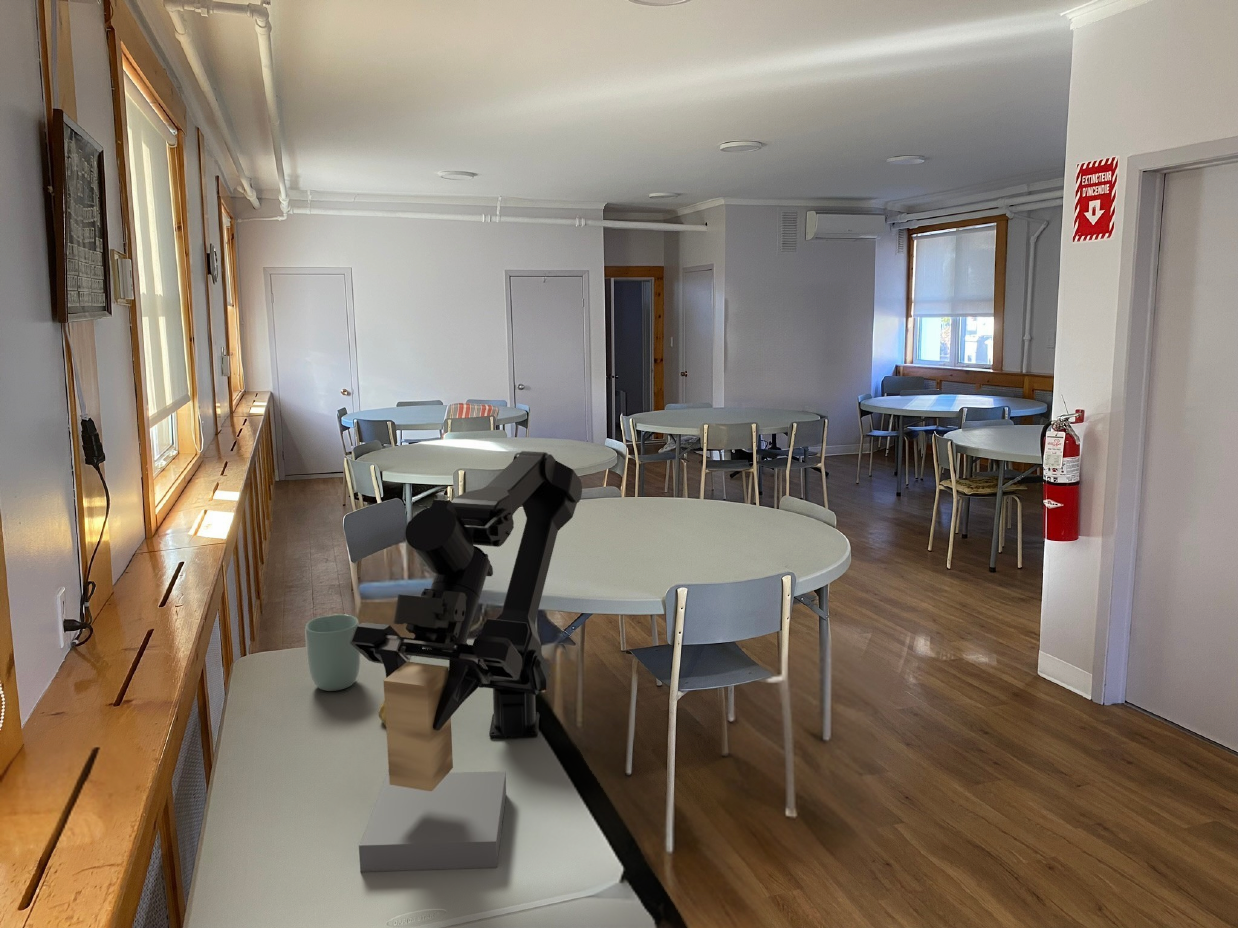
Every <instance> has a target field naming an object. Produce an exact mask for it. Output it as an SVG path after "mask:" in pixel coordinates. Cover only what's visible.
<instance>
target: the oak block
mask: <svg viewBox="0 0 1238 928" xmlns="http://www.w3.org/2000/svg"><path fill="white" fill-rule="evenodd" d="M448 675H449V665H448V666H447V665H440V664H439V665H437V664H431V663H422V662H414V661H410V662H406V663H405V664H403V665H402V666H401V667H400V668H398V669H397V670H396V671H395V672H393V673H392V674H391V675H390V676H388V677H387V678H386V677H385V679H383V694H384V695H383V696H384V700H385V715H386V726H385V729H386V747H387V760H388V763H387V764H388V774H389V782H390V785H395V786H401V787H407V788H413V789H419V790H425V791H431V792H432V791H433V790H434V789H435V787H436V786H437V785H438V784H439V783H440V782H441V781H442V780H443V778H444V777H445V776H446V775H447V774H448V773H451V770H453V768H454V761H453V760H454V757H453V741H452V736H453V735H452V716H451V717H450V718H449V720H448V721H447V722H446V723H445V724H444V725H443V727H442V728H441V729H440V730H439V731H437V730H435V729H434V728H433V723H434V718H435V714H436V711H437V708H438V705H439V702H440V699H441V696H442V694H443V691H444V688H445V685H446V682H447V680H448Z"/></svg>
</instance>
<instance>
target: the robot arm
mask: <svg viewBox="0 0 1238 928" xmlns="http://www.w3.org/2000/svg"><path fill="white" fill-rule="evenodd" d="M582 494H583V483H582V481H581V478H580V477H579V476H578V475H577V473H576V472H575V469H573V468H571V467H569V466H567V465H565V464H563V463H562V462H559V461H558V460H556V459H555V457H554V456H553V455H552V454H550V453H548V452H545V451H529V450H528V451H526V450H522V451H520V452H516V453H515V454H514V456H513V459H512V461H511V462H510V463H509V464H508V465H507V466H506V467H504V469H503V470H502V471H501V472H500V473H498V474H497V475H496V476H495V477H494V478H493V479H492V480H491V481H490V482H489V483H488V484H487V485H486V486H485V487H483V488H480V489H478V488H477V489H474V490H469V491H466V492H465V491H464V492H463V493H461V494H459V495H458V496H455V497H454V498H452V500H450V499H445V498H444V499H443V498H442V499H440V498H434V499H433V500H432V503H431V505H430V506H429V507H427V508H424V509H422V510H420V511H418V512H417V513H415V515H414V516H413V517H412V518H411V519H410V520H408V522H407V525H406V527H405V532H404V533H405V540H406V543H407V544H408V545H409V547H411V549H412V550H413V551H414V552H415V554H416V555H417V556H418V559H420V560H421V562H423V564H424V566H425V567H426V568H427V569H428V570H429V571H430V572H432V573H433V574H434V578H433V581H432V583H431V587H430V588H424V589H423V590H422V592H421V594H420V595H413V594H412V595H411V594H402V593H398V594H397V599H396V600H397V601H396V606H395V612H394V619H393V624H394V625H404V624H406V626H405V627H404V628H405V630H406V631H407V632H408V633H409V634H413V635H414V637H406V636H401V634H399V633H398V632H397V631H396V630H395V629H394V628H393V626H391V625H390V624H382V623H372V622H366V621H365V622H362V623H359V626H357V627H356V629H355V630H354V632H353V635H352V638H351V640H350V644H351V645H352V646H353V647H354V648H355V649H357V650H358V651H359V652H360V655H362V656H363V657H364V658H365V659H366V660H367V661H369V662H371V663H373V664H374V663H375V664H381V665H382V664H383V666H384V672H385V679H386V678H387V677H388V676H390V675H391V674H392V673H393V672H395V671H396V670H397V669H398V668H400V667H401V666H402V665H403V664H405V663H406V662H411V659H412V657H420V658H426V659H427V658H428V659H436V660H443V661H449V662H448V667H449V675H448V680H447V682H446V685H445V688H444V691H443V694H442V696H441V699H440V702H439V705H438V708H437V711H436V714H435V718H434V723H433V728H434V729H435V730H437V731H439V730H440V729H441V728H442V727H443V725H444V724H445V723H446V722H447V721H448V720H449V718H450V717H451V718H452V716H453V715H454V714H455V712H456V711H457V710H458V709H459V708H460V706H461V705H462V704H463V703H464V702H466V700H467V699H468V698H469V697H470V696H471V695H472V694H473V693H474V692H475V691H476V690H477V689H478V688H481V689H483V688H485V689H492V701H493V705H492V706H493V709H492V710H493V713H492V716H491V721H490V727H489V735H488V737H489V738H492V739H495V738H499V739H500V738H530V737H531V738H535V737H538V735H539V722H540V712H538V711H536V696H537V695H538V694H539V693H540V692H542V691H547V690H548V689H549V679H550V676H551V675H550V665H549V663H548V662H547V660H546V659H545V658H544V655H542V653H541V650H542V643H541V640H540V637H539V634H538V630H537V627H536V620H537V616H538V612H539V608H540V605H541V600H542V597H543V593H544V588H545V585H546V580H547V577H548V571H549V568H550V564H551V560H552V557H553V553H554V548H555V543H556V541H557V536H558V532H559V531H560V530H561V529H562V528H563V527H564V526H565V525H566V524H567V523H569V521H570V520H572V518H573V517H574V515H575V512H576V511H575V510H576V507H577V505H578V503H579V502H581V498H582ZM521 506H522V509H523V513H524V514H525V517H526V519H525V524H524V528H523V532H522V535H521V539H520V543H519V547H518V550H517V554H516V558H515V561H514V564H513V568H512V573H511V576H510V580H509V583H508V587H507V590H506V594H505V598H504V602H503V606H502V609H501V612H500V613H499V614H498V615H497V616H496V617H495V618H487V619H486V620H485V621H484V623H483V625H482V631H481V634H479V635H478V636H477V637H476V638H474V639H473V643H472V644H468V643H467V641H468V638H469V634H470V632H471V629H472V625H473V622H475V623H477V622H478V621H479V618H480V614H481V613H480V612H479V611H478V610H477V608H478V605H479V602H480V597H481V595H482V591H483V588H484V585H485V581H486V579H487V577H492V576H493V575H494V570H493V569H494V568H493V565H492V564H491V561H490V559H489V554H488V553H486V552H484V551H483V549H481V548H480V547H478V546H484V547H495V548H500V547H501V546H503V545H504V543H506V541H507V540H508V538H509V537H510V536H511V534H512V531H513V530H514V528H515V527H514V526H515V525H514V524H515V522H514V518H513V516H514V514H515V513H516V512H517V511H518V510H519V509H520V507H521Z"/></svg>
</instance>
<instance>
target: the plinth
mask: <svg viewBox="0 0 1238 928" xmlns="http://www.w3.org/2000/svg"><path fill="white" fill-rule="evenodd" d="M506 775H507V773H506V770H503V771H502V770H499V771H498V770H497V771H494V770H493V771H465V772H464V771H463V772H462V771H461V772H460V771H459V772H449V773H448V774H447V775H446V776H445V777H444V778H443V780H442V781H441V782H440V783H439V784H438V785H437V786H436V787H435V789H434V790H433V791H432V792H431V791H425V790H419V789H413V788H407V787H401V786H395V785H390V782H389V773H388V774H385V776H384V779H383V781H382V784H381V787H380V789H379V792H378V794H377V797H376V799H375V803H374V805H373V807H372V809H371V813H370V816H369V818H368V821H367V823H366V826H365V829H364V830H363V833H362V836H361V839H360V841H359V844H358V852H359V854H358V855H359V869H360V870H359V871H360V873H362V872H363V873H364V872H366V873H367V872H370V873H371V872H394V871H397V872H398V871H424V870H425V871H426V870H427V871H429V870H457V869H459V870H461V869H489V868H490V869H491V868H498V861H499V852H500V845H501V839H502V838H501V836H502V831H501V830H503V823H502V821H503V822H504V815H503V814H505V808H504V806H506V800H505V798H506V799H507V777H506ZM500 838H501V839H500Z"/></svg>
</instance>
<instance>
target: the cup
mask: <svg viewBox="0 0 1238 928" xmlns="http://www.w3.org/2000/svg"><path fill="white" fill-rule="evenodd" d="M359 625H360V622H359V620H358V618H357V617H356V616H353V615H350V614H344V613H343V614H330V615H329V614H328V615H323V616H319V617H315V618H313V619H310V620H308V622H307V623H306V624H305V629H304V636H305V649H306V659H307V666H308V671H309V674H310V679H311V681H312V682H313V684H314V686H315V687H317V688H318V689H320V690H322V691H326V692H334V691H342V690H345V689H348V688H349V687H351V686H352V685H353V684H354V683H356V681H357V679H358V678H359V674H360V668H361V653H360V652H359V651H358V650H357V649H355V648H354V647H353V646H352V645H351V644H350V640H351V638H352V635H353V632H354V630H355V629H356V627H357V626H359Z"/></svg>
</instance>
